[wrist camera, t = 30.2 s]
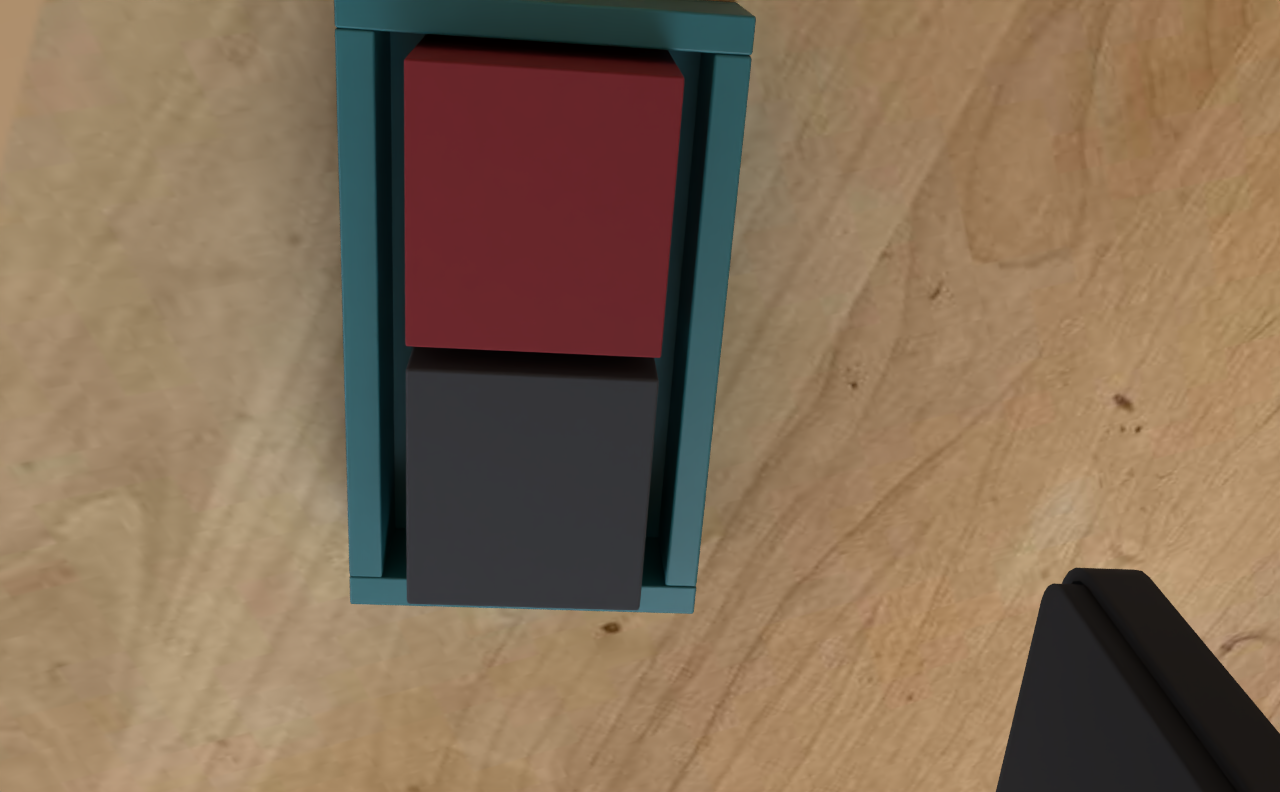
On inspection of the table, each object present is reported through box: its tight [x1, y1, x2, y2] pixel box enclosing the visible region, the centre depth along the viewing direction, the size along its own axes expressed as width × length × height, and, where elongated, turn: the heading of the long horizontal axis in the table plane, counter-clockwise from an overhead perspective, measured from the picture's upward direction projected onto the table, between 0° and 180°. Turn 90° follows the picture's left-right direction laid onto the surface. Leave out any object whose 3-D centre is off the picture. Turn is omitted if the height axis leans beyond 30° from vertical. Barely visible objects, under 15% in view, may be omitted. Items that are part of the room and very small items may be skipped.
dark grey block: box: [406, 346, 659, 610], centre depth 29 cm, size 6×6×4 cm
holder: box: [334, 0, 756, 614], centre depth 29 cm, size 15×9×3 cm, turn 176°
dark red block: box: [404, 34, 685, 358], centre depth 27 cm, size 6×6×4 cm
